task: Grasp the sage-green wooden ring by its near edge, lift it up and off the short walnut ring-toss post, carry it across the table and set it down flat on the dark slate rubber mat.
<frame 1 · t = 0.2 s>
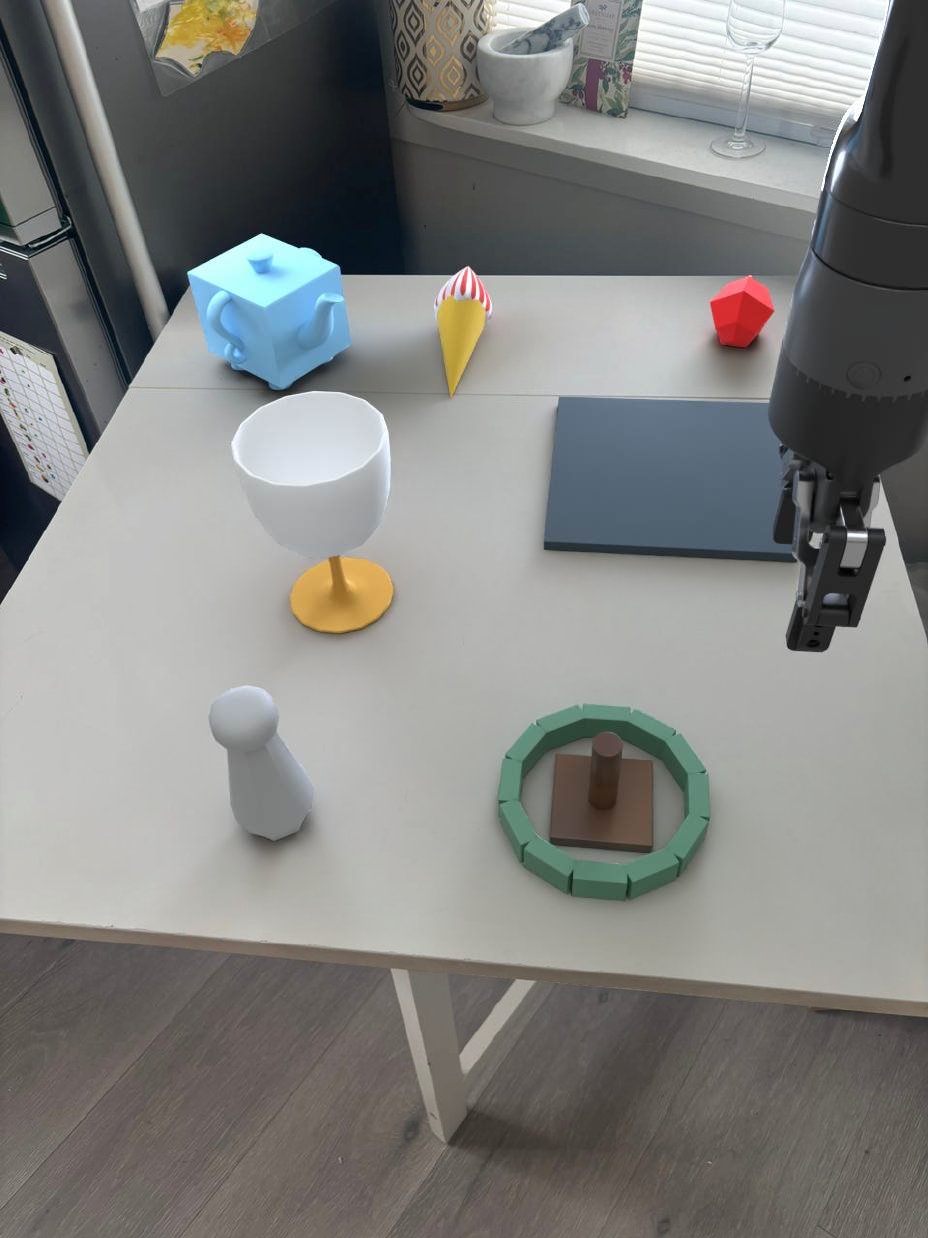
hand: (797, 590, 57), 20 cm above the table, tool pointing down, fingers open, 8 cm apart
cup: (342, 596, 86), on the table
red faceted gem: (737, 336, 111), on the table
white game pawn: (279, 816, 72), on the table
mat: (667, 475, 95), on the table
ice cream cone: (457, 349, 112), on the table
teapot: (300, 370, 110), on the table
ring toss: (601, 805, 71), on the table
ring: (601, 805, 71), on the table
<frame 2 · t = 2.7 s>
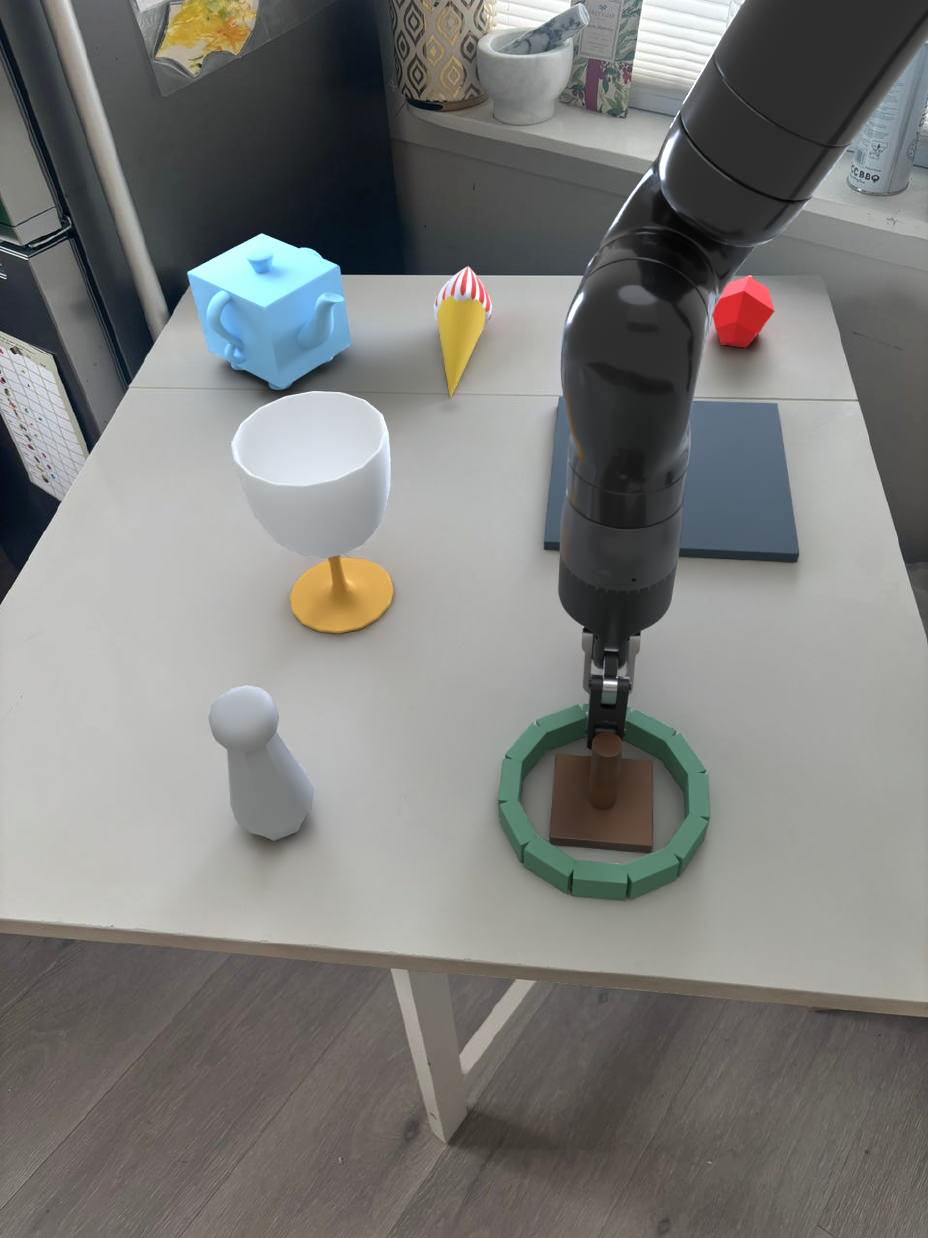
hand: (603, 701, 75), 2 cm above the table, tool pointing down, fingers open, 8 cm apart
nothing on the table moved.
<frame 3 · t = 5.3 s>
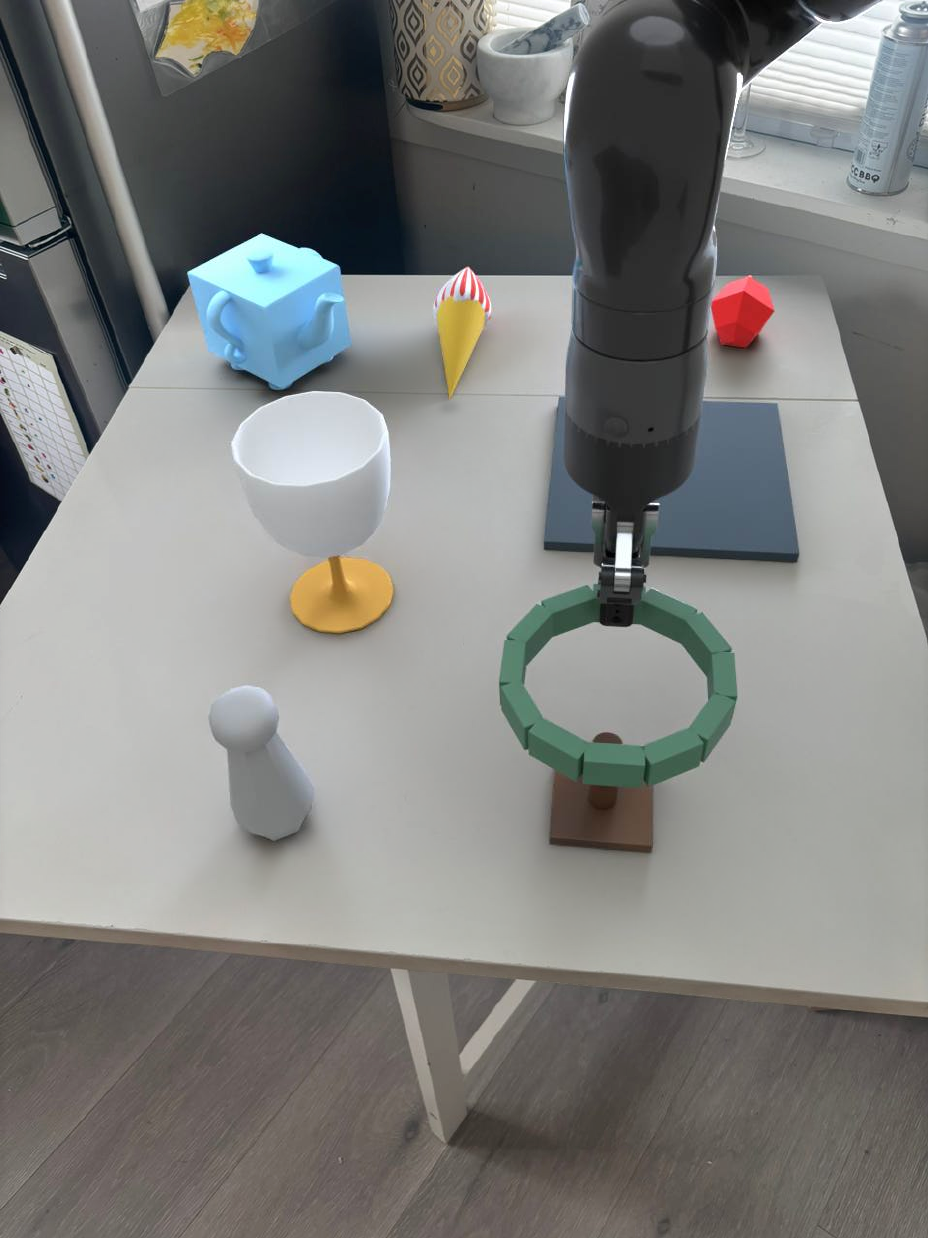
hand: (616, 611, 67), 12 cm above the table, tool pointing down, fingers closed on ring, 1 cm apart
ring: (614, 691, 63), point 11 cm above the table, touching gripper
everything else where it was.
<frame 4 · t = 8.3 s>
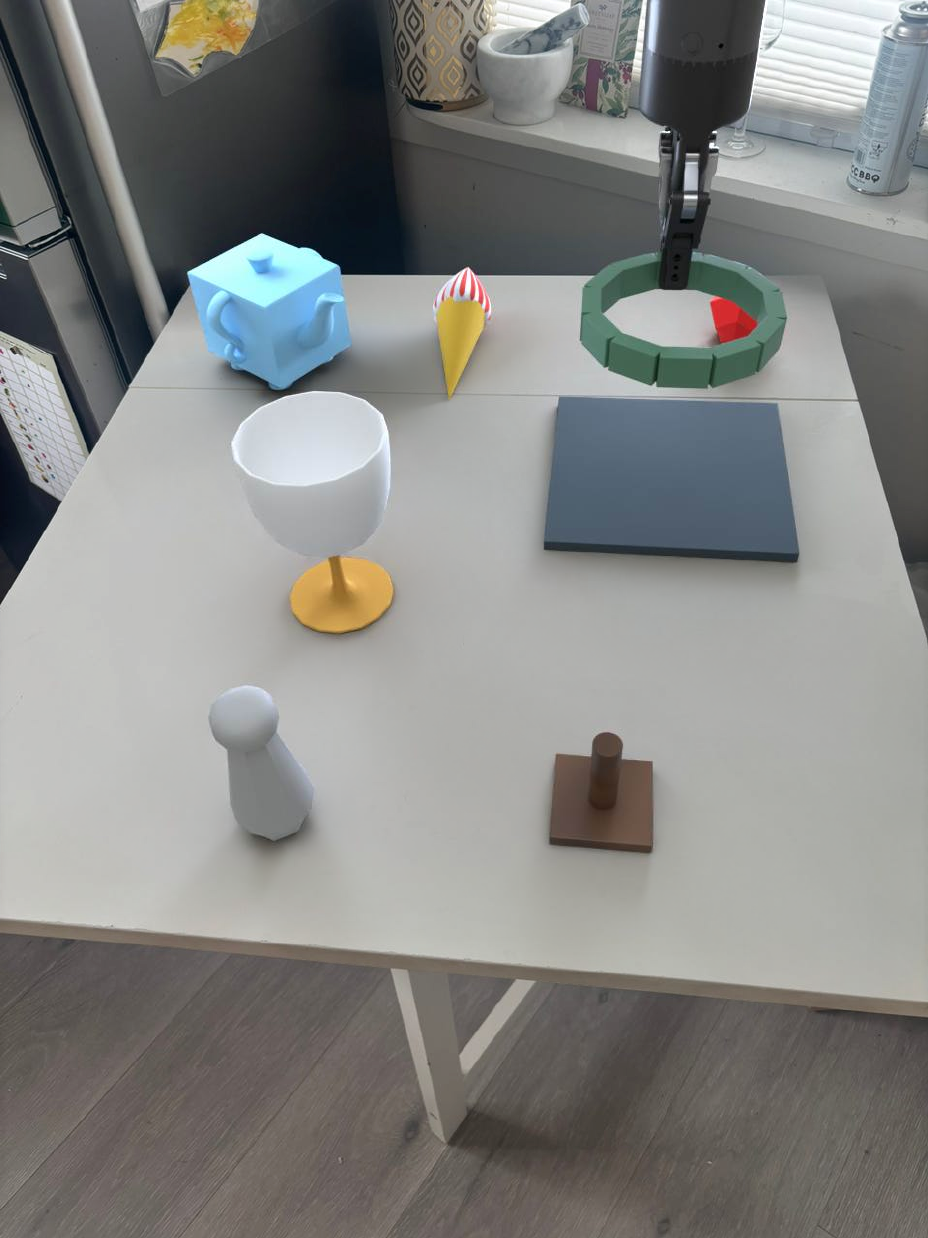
hand: (672, 280, 77), 22 cm above the table, tool pointing down, fingers closed on ring, 1 cm apart
ring: (678, 330, 73), point 21 cm above the table, touching gripper
everything else where it was.
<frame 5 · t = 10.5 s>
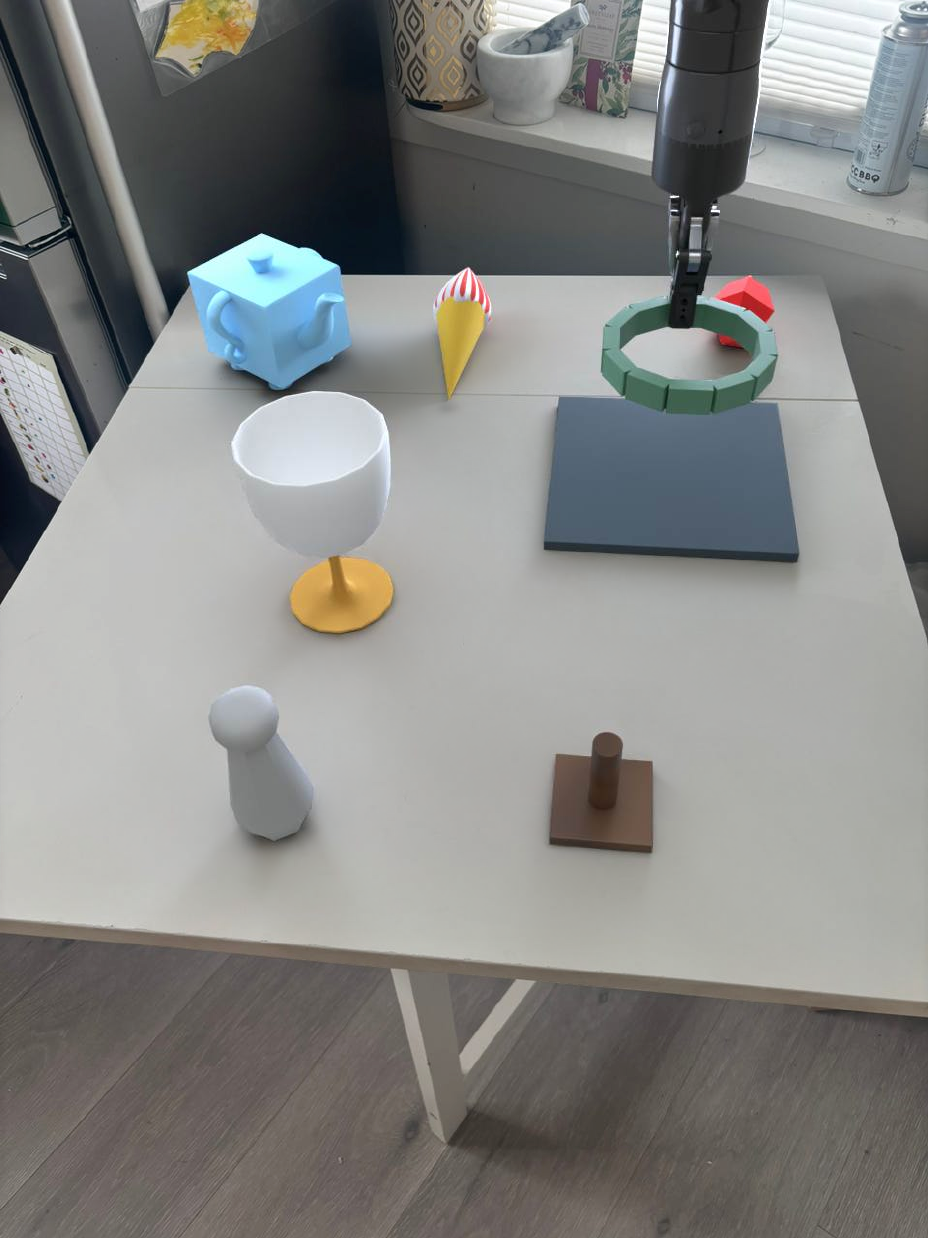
hand: (680, 319, 90), 13 cm above the table, tool pointing down, fingers closed on ring, 1 cm apart
ring: (685, 364, 86), point 12 cm above the table, touching gripper
everything else where it was.
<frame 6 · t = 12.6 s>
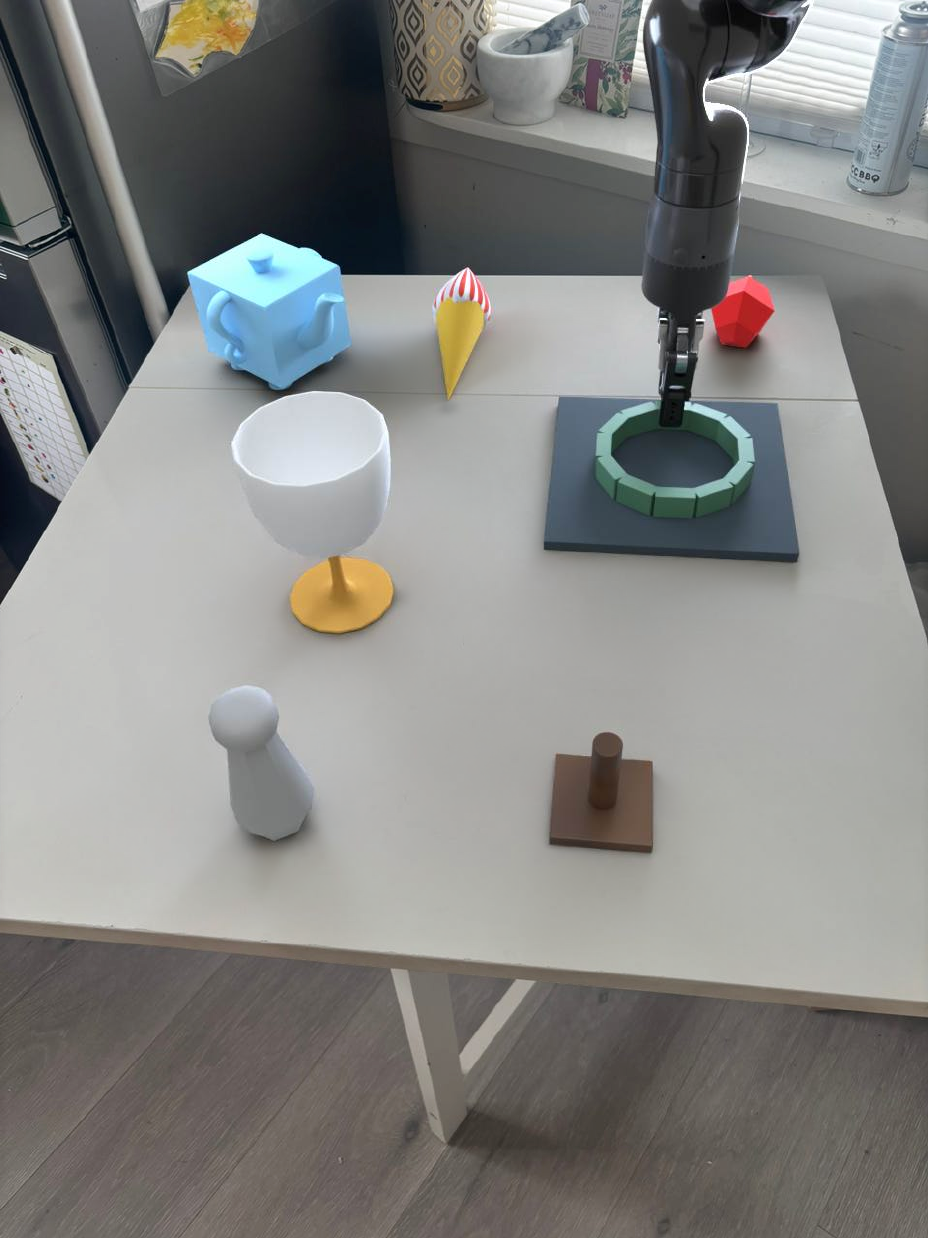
hand: (669, 408, 97), 3 cm above the table, tool pointing down, fingers open, 4 cm apart
ring: (671, 467, 94), point 1 cm above the table, touching mat
everything else where it was.
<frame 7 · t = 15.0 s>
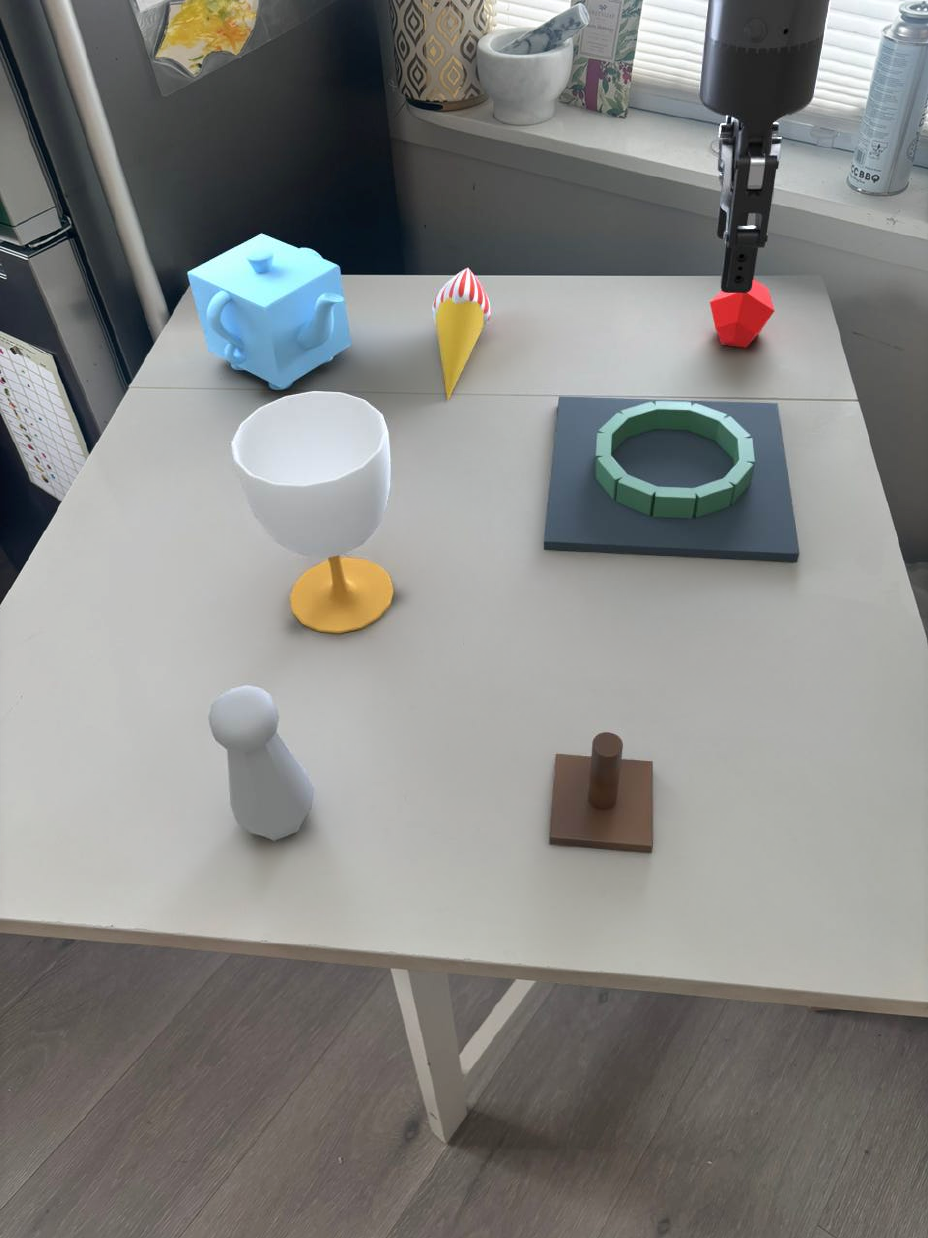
hand: (732, 262, 75), 23 cm above the table, tool pointing down, fingers open, 8 cm apart
nothing on the table moved.
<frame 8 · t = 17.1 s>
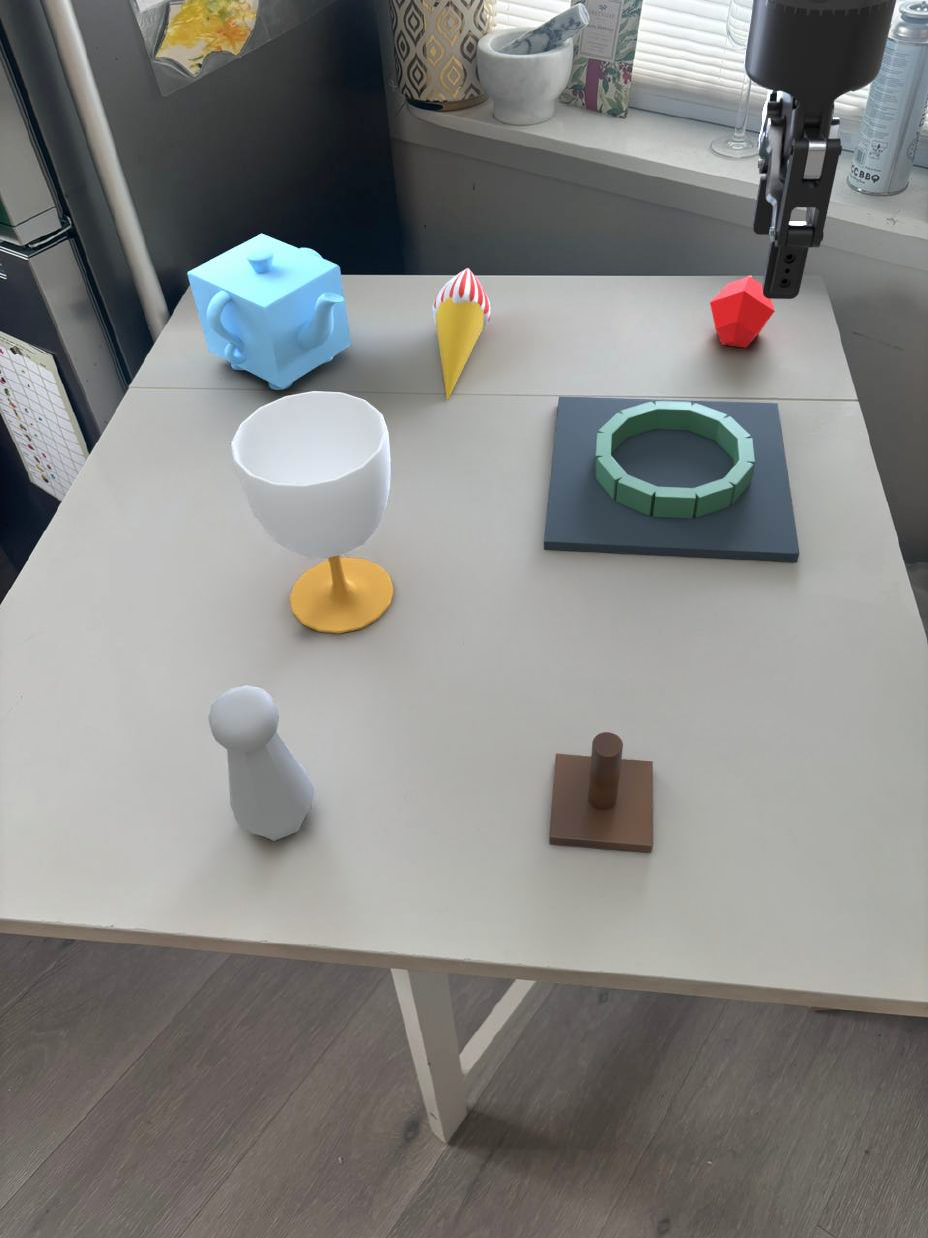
hand: (773, 262, 66), 28 cm above the table, tool pointing down, fingers open, 8 cm apart
nothing on the table moved.
at the end: ring inside the target area on the mat (0.3 cm from its centre), point 1.0 cm above the mat's base; ring tilted 0°; the gripper is holding nothing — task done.
